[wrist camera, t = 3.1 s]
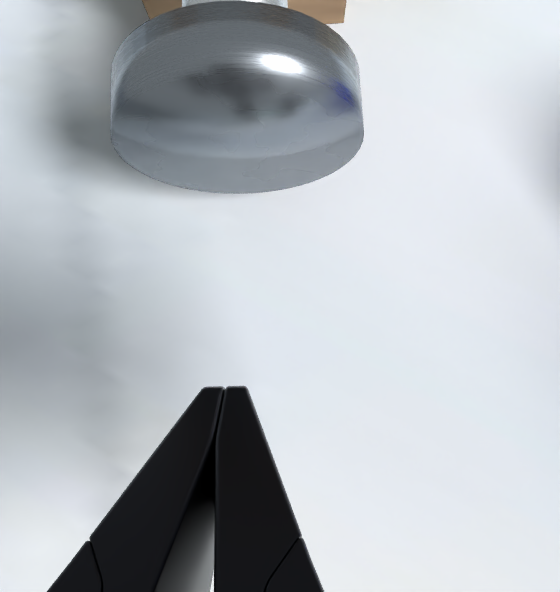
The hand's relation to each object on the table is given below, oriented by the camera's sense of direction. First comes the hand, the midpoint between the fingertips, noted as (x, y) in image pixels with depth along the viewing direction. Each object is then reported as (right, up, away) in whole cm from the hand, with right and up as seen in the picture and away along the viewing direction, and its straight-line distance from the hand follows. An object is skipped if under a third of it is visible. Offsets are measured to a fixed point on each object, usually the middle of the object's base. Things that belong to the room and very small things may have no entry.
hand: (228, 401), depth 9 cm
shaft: (0, +12, +11) cm, 17 cm away
